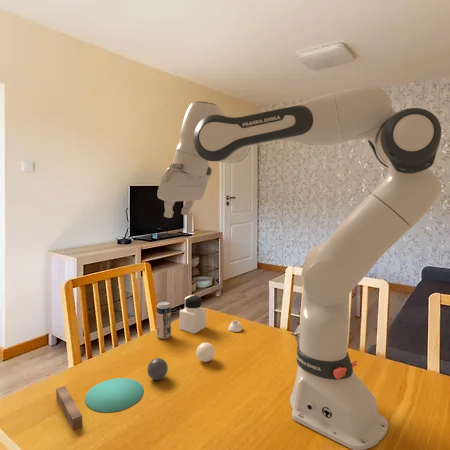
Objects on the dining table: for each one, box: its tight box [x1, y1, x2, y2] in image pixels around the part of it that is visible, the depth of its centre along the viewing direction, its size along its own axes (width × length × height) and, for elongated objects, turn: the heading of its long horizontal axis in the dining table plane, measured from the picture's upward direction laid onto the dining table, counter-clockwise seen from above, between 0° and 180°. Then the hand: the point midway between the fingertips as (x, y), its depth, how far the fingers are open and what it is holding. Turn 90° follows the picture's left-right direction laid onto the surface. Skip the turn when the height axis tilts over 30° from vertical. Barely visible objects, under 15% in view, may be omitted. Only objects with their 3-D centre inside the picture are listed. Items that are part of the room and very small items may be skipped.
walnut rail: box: [55, 385, 83, 431], centre depth 81 cm, size 14×2×2 cm, turn 39°
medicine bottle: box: [179, 294, 207, 335], centre depth 128 cm, size 7×7×12 cm
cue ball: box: [195, 342, 216, 363], centre depth 105 cm, size 6×6×6 cm
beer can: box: [156, 301, 172, 340], centre depth 121 cm, size 5×5×12 cm
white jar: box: [227, 320, 243, 333], centre depth 129 cm, size 5×3×5 cm
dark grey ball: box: [147, 357, 169, 381], centre depth 96 cm, size 6×6×6 cm
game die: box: [291, 321, 300, 346], centre depth 116 cm, size 9×8×10 cm
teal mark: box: [84, 377, 144, 413], centre depth 88 cm, size 14×14×1 cm
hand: (176, 215), depth 94 cm, fingers open, 8 cm apart
